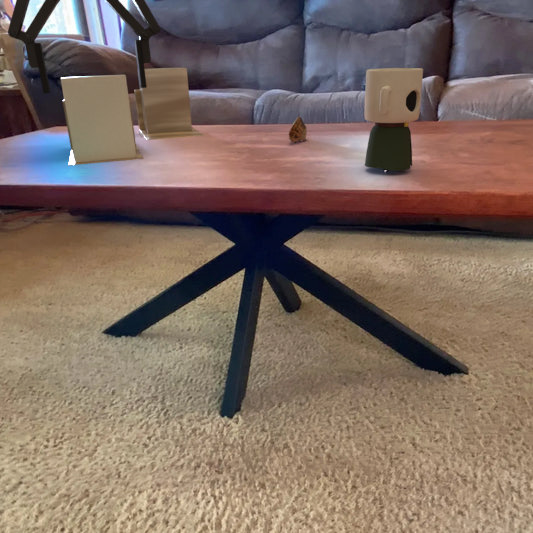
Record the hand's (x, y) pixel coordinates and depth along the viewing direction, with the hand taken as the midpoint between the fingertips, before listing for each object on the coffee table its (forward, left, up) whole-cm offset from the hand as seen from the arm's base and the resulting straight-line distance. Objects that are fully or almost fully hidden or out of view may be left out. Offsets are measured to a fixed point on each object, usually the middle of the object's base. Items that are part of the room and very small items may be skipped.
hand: (96, 90), depth 75 cm
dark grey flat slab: (-4, +4, -11) cm, 12 cm away
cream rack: (-9, +26, -11) cm, 30 cm away
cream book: (0, 0, -10) cm, 10 cm away
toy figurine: (+41, +12, -11) cm, 44 cm away
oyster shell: (+18, +30, -11) cm, 37 cm away
